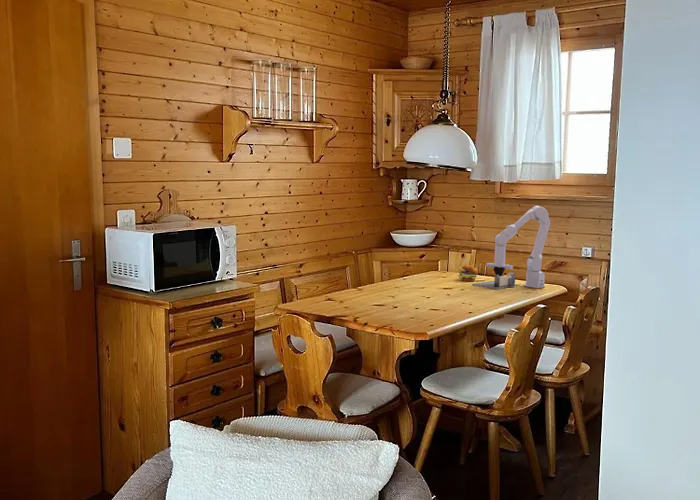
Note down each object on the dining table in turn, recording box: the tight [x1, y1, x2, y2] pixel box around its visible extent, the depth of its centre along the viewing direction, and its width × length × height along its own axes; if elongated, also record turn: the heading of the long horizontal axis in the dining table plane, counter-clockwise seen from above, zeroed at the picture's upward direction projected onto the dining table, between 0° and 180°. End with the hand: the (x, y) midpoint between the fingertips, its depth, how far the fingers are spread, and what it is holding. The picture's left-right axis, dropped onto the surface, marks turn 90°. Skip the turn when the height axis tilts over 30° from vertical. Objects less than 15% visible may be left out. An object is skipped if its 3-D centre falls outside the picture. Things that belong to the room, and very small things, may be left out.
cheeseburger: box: [458, 264, 479, 282], centre depth 396 cm, size 10×11×10 cm
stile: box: [507, 272, 516, 286], centre depth 382 cm, size 5×6×6 cm
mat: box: [472, 280, 518, 291], centre depth 382 cm, size 16×19×1 cm
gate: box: [499, 273, 512, 286], centre depth 379 cm, size 10×2×6 cm, turn 130°
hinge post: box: [493, 274, 499, 287], centre depth 375 cm, size 2×2×6 cm
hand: (498, 280), depth 384 cm, fingers closed
